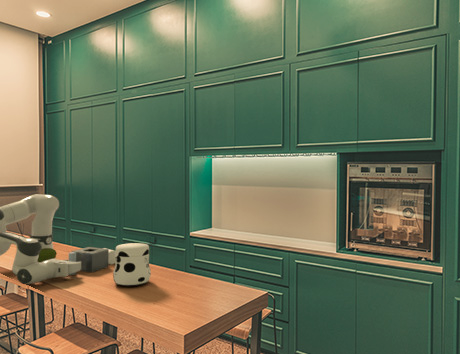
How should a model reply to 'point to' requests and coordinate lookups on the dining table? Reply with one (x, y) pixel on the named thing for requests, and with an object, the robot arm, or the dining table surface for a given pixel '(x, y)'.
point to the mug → (111, 256)
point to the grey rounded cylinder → (72, 259)
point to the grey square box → (92, 258)
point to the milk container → (132, 264)
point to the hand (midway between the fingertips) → (73, 262)
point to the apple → (46, 254)
